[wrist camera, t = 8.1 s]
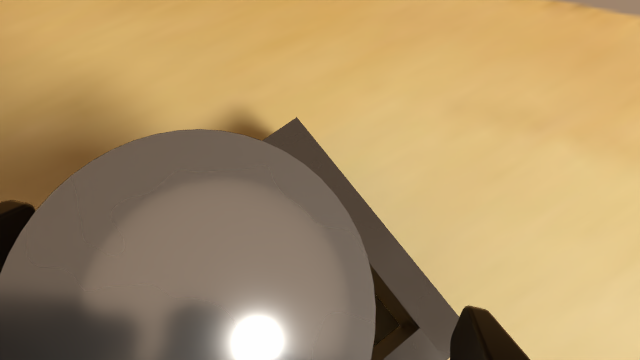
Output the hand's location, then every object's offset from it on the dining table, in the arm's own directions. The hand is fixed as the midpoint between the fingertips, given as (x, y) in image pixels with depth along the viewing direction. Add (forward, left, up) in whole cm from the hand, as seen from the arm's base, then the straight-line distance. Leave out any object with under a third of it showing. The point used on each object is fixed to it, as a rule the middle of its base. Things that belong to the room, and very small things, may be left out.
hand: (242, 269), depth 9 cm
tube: (0, +1, -9) cm, 9 cm away
